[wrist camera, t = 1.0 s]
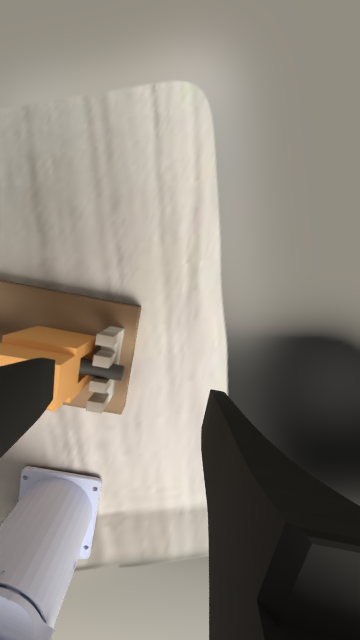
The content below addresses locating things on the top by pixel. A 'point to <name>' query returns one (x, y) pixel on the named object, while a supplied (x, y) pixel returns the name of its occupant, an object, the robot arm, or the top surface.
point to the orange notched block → (52, 357)
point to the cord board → (86, 318)
